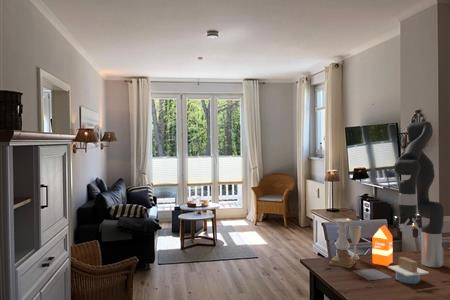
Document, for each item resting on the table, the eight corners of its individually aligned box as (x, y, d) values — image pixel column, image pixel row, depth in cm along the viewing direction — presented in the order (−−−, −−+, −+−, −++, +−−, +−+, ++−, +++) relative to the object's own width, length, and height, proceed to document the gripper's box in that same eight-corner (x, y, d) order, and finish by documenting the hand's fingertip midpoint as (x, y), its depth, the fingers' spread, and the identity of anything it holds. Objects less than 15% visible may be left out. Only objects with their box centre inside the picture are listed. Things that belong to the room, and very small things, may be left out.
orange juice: (372, 264, 193) (372, 226, 193) (377, 260, 200) (377, 223, 199) (387, 267, 188) (387, 228, 188) (392, 263, 194) (392, 225, 194)
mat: (374, 269, 185) (374, 268, 185) (392, 278, 172) (392, 277, 172) (351, 272, 181) (351, 271, 181) (369, 282, 168) (368, 280, 168)
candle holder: (350, 269, 185) (350, 222, 185) (328, 266, 191) (328, 220, 191) (355, 263, 194) (355, 219, 194) (335, 260, 200) (335, 217, 200)
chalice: (360, 262, 197) (359, 228, 197) (347, 260, 200) (347, 227, 200) (362, 258, 203) (362, 226, 203) (350, 256, 207) (350, 224, 206)
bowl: (408, 276, 175) (408, 266, 175) (424, 283, 166) (424, 272, 166) (391, 278, 172) (391, 268, 172) (406, 286, 163) (406, 275, 163)
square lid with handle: (408, 265, 176) (408, 254, 176) (428, 273, 165) (428, 262, 165) (387, 267, 173) (387, 256, 173) (406, 276, 161) (406, 264, 161)
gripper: (413, 201, 174) (413, 235, 174) (388, 202, 170) (389, 237, 170) (426, 203, 167) (426, 238, 167) (400, 205, 163) (400, 241, 163)
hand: (407, 238), depth 169 cm, fingers open, 8 cm apart
